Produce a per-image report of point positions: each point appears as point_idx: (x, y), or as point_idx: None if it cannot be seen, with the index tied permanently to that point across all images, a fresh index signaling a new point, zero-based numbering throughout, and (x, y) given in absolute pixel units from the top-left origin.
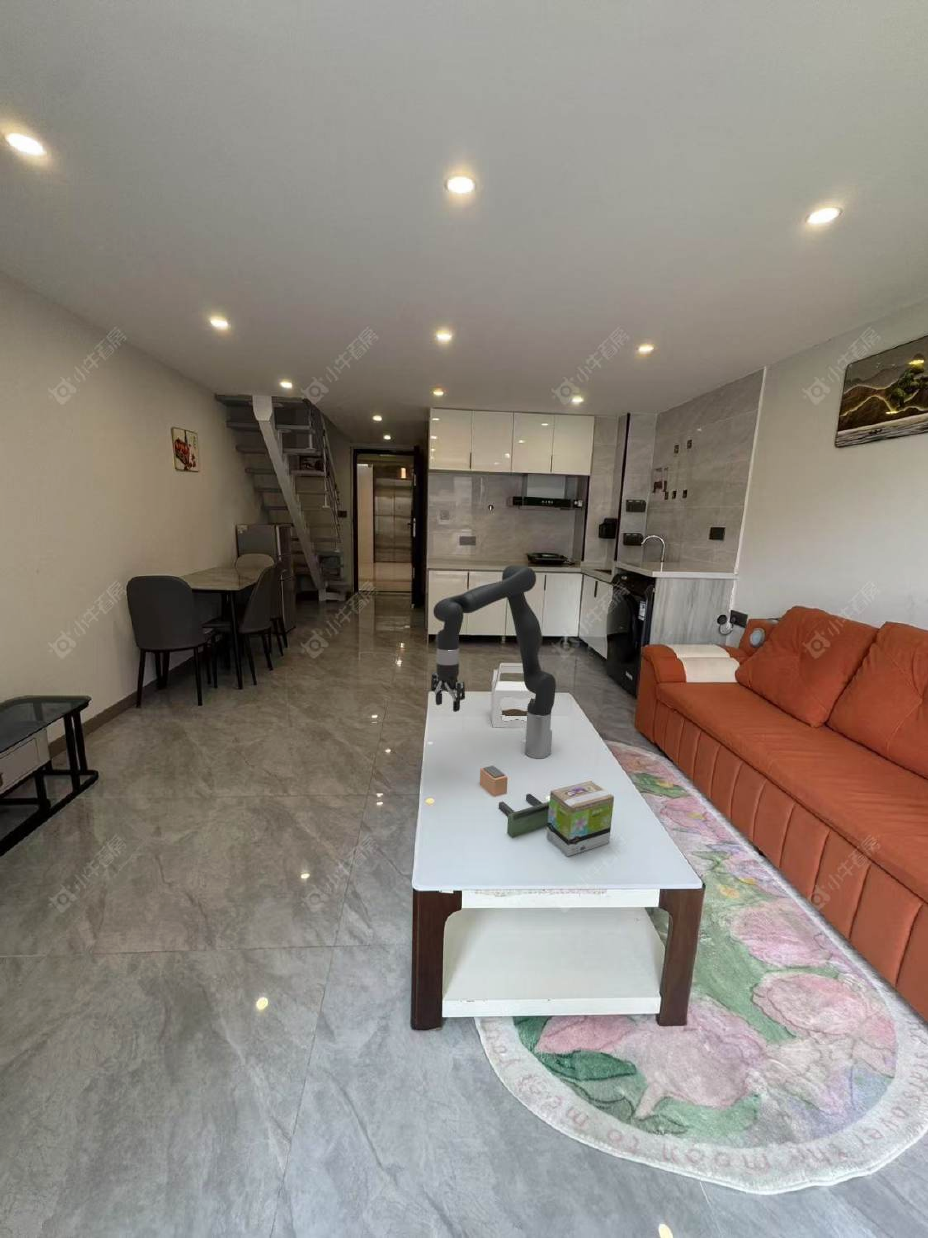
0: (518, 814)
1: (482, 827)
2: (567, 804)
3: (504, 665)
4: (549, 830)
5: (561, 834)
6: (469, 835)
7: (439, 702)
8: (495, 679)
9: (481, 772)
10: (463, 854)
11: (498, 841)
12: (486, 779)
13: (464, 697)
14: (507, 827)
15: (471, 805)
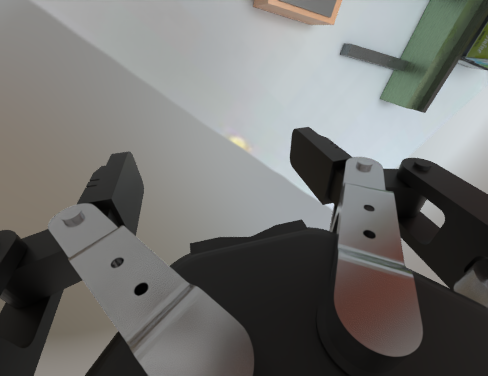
0: (429, 104)
1: (343, 119)
2: None
3: None
4: None
5: (485, 67)
6: (338, 145)
7: (135, 180)
8: None
9: (270, 5)
10: None
11: (375, 121)
12: (291, 14)
13: (437, 172)
14: (387, 101)
15: (296, 92)
